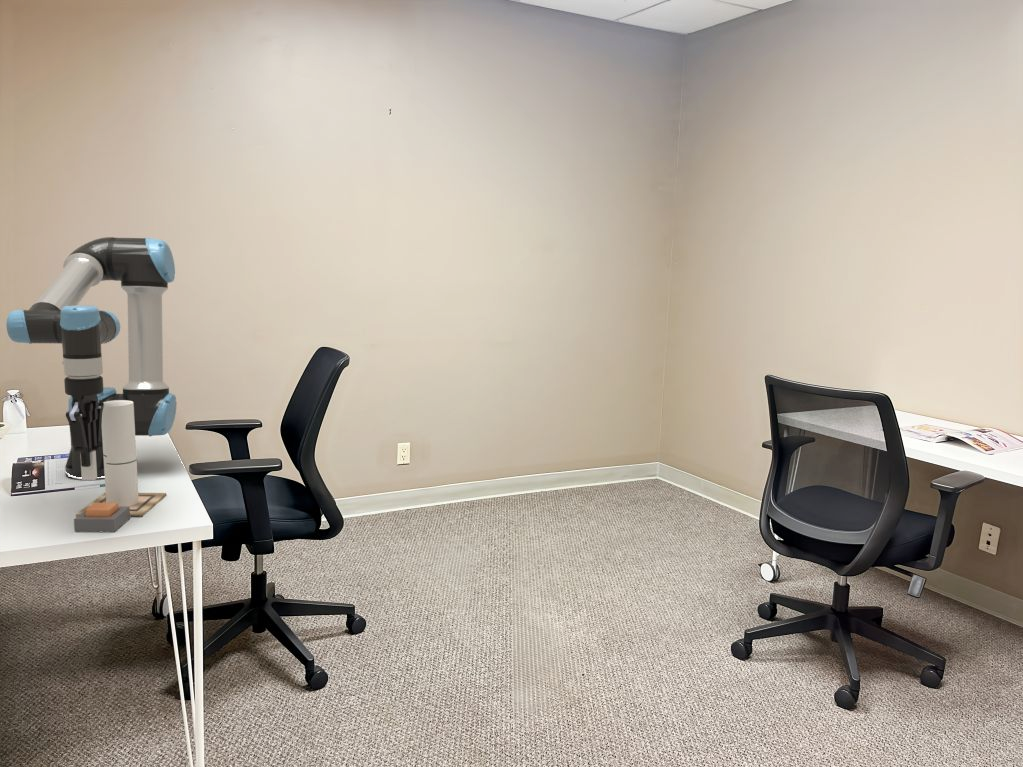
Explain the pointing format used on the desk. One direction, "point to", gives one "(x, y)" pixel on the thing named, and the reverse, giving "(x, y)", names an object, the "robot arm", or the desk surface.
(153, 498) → the picture board
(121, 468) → the cylindrical container
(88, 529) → the button housing
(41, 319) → the robot arm
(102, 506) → the button
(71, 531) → the desk surface
